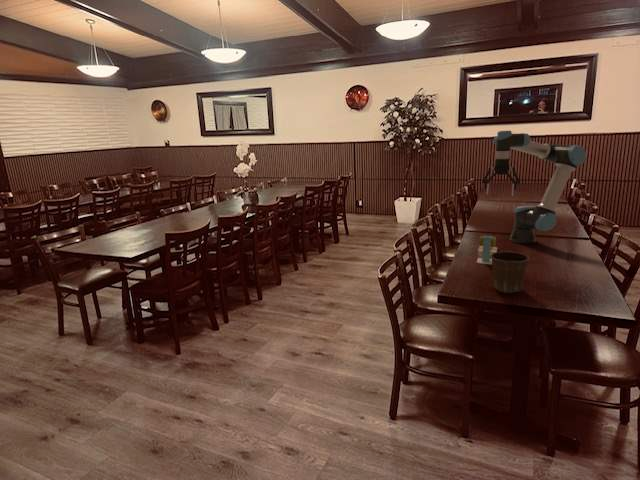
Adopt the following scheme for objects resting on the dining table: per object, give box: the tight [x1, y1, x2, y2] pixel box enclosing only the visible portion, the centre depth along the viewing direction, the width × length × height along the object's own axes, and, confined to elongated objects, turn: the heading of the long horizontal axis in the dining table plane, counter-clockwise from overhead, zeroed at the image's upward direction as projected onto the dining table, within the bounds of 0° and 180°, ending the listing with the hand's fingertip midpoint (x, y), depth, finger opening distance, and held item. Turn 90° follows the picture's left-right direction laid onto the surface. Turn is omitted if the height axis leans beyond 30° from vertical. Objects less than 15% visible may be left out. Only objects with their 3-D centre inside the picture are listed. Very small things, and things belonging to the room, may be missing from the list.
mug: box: [479, 235, 497, 247], centre depth 257 cm, size 12×10×10 cm
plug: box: [481, 235, 493, 262], centre depth 235 cm, size 4×4×14 cm
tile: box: [476, 257, 493, 266], centre depth 236 cm, size 9×9×1 cm
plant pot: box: [490, 251, 530, 294], centre depth 195 cm, size 16×16×16 cm
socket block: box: [477, 245, 498, 259], centre depth 247 cm, size 10×10×4 cm
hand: (499, 195), depth 245 cm, fingers open, 13 cm apart
